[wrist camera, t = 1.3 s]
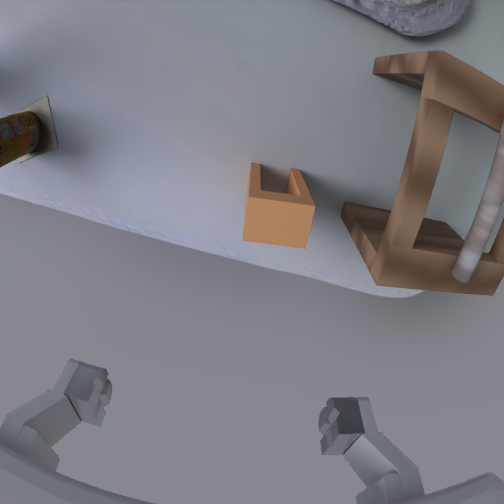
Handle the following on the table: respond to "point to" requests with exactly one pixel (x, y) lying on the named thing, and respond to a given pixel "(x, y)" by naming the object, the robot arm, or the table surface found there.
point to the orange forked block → (278, 212)
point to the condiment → (27, 133)
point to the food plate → (412, 14)
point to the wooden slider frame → (422, 182)
